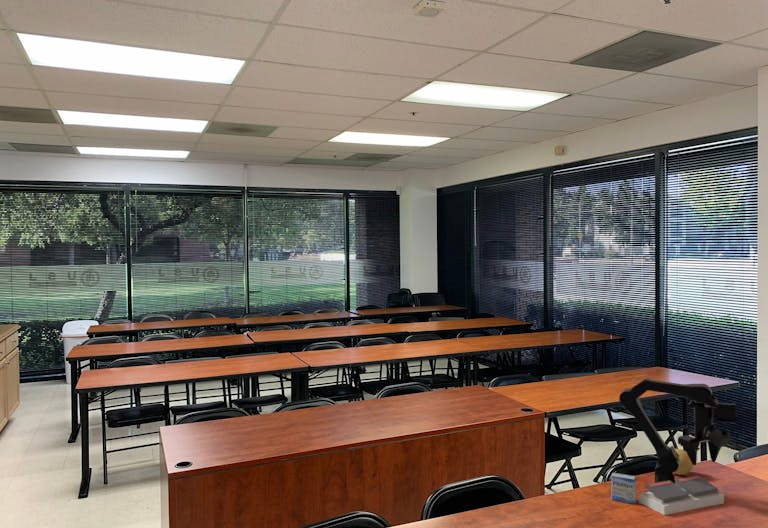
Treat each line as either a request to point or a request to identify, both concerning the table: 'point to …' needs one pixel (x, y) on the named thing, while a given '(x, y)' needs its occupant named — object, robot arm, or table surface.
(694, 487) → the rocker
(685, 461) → the stress ball
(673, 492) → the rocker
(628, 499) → the medicine box
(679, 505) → the light switch base
